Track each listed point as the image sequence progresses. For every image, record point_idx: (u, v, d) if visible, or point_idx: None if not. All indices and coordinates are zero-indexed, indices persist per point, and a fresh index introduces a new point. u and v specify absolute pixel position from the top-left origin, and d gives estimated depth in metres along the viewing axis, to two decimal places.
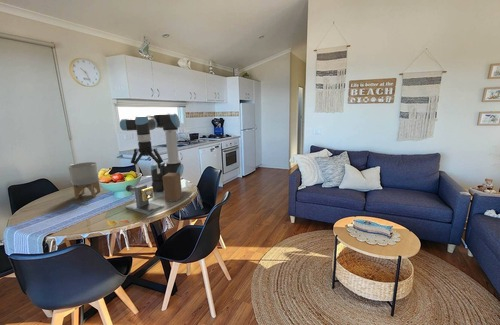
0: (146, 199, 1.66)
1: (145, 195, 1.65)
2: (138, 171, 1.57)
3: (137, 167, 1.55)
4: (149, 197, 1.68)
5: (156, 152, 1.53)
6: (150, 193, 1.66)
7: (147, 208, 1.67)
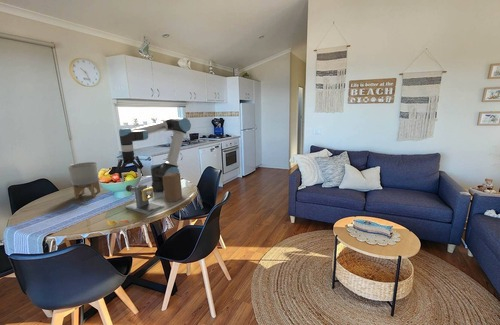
0: (146, 199, 1.66)
1: (145, 195, 1.65)
2: (139, 175, 1.78)
3: (138, 171, 1.78)
4: (149, 197, 1.68)
5: (118, 162, 1.65)
6: (150, 193, 1.66)
7: (147, 208, 1.67)
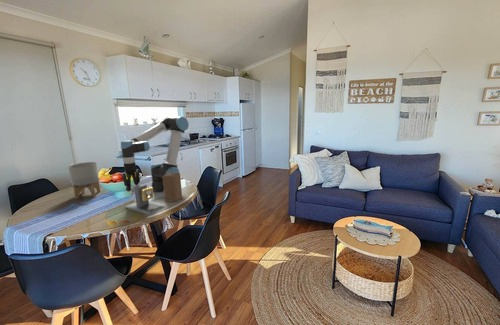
0: (146, 199, 1.66)
1: (145, 195, 1.65)
2: None
3: None
4: (149, 197, 1.68)
5: (123, 176, 1.68)
6: (150, 193, 1.66)
7: (147, 208, 1.67)
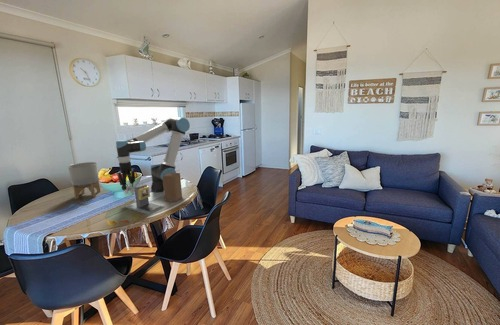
0: (142, 198, 1.68)
1: (141, 194, 1.67)
2: None
3: None
4: (145, 196, 1.70)
5: (118, 176, 1.71)
6: (145, 192, 1.68)
7: (147, 208, 1.67)
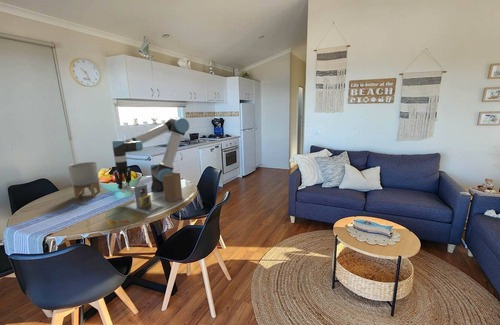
0: (144, 206, 1.69)
1: (143, 202, 1.68)
2: None
3: (126, 185, 1.81)
4: (147, 204, 1.71)
5: (114, 175, 1.73)
6: (141, 191, 1.70)
7: (147, 208, 1.67)
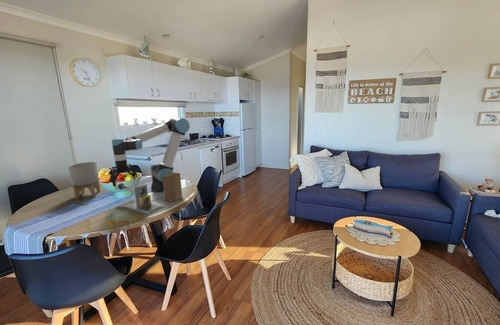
0: (144, 206, 1.69)
1: (143, 202, 1.68)
2: (132, 183, 1.85)
3: (131, 179, 1.85)
4: (147, 204, 1.71)
5: (112, 171, 1.71)
6: (141, 191, 1.70)
7: (147, 208, 1.67)
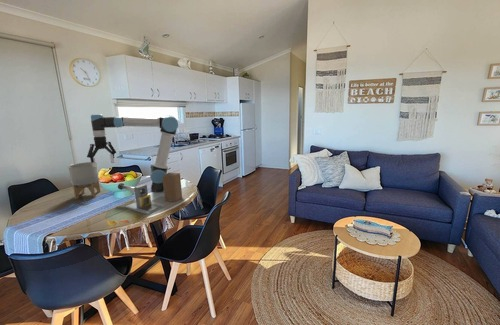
0: (144, 206, 1.69)
1: (143, 202, 1.68)
2: (111, 161, 1.85)
3: (110, 157, 1.84)
4: (147, 204, 1.71)
5: (90, 147, 1.70)
6: (141, 191, 1.70)
7: (147, 208, 1.67)
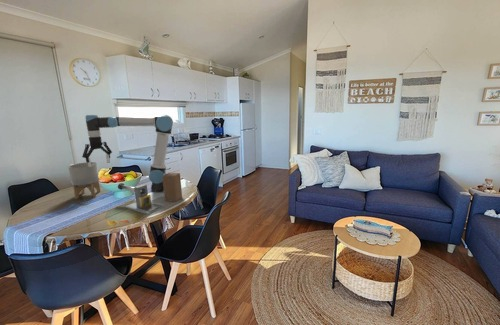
0: (144, 206, 1.69)
1: (143, 202, 1.68)
2: (107, 160, 1.86)
3: (106, 157, 1.85)
4: (147, 204, 1.71)
5: (85, 147, 1.72)
6: (141, 191, 1.70)
7: (147, 208, 1.67)
